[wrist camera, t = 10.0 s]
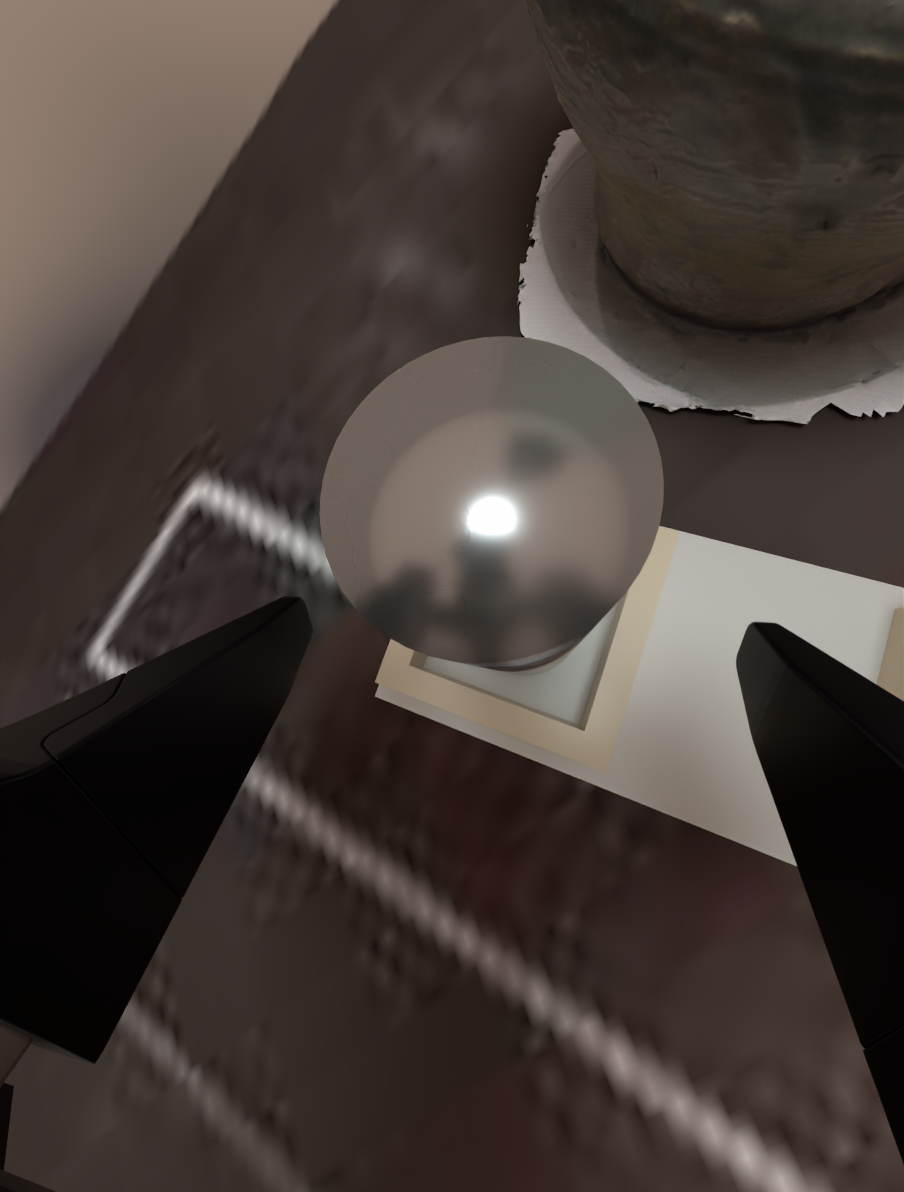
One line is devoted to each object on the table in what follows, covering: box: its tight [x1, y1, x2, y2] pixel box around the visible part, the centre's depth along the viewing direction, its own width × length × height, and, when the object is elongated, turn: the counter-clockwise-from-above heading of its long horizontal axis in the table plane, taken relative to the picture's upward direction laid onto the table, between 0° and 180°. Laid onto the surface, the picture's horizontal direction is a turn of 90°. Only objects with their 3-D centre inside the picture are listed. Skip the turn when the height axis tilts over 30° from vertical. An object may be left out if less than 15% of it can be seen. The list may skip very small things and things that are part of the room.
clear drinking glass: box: [320, 336, 664, 675], centre depth 12 cm, size 4×4×12 cm
